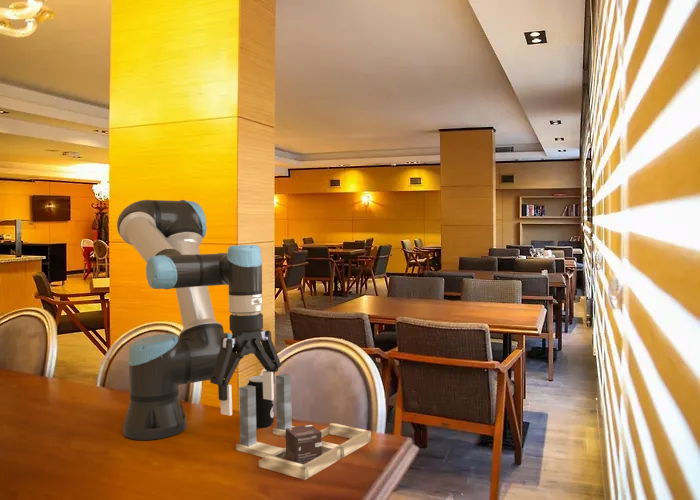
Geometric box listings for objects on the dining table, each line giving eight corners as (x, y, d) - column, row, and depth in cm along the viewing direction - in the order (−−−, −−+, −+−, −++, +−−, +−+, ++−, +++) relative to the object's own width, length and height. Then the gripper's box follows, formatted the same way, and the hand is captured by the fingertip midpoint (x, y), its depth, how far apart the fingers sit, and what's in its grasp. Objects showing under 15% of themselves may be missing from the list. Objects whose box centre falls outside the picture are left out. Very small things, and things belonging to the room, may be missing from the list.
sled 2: (261, 438, 138) (260, 379, 137) (294, 424, 148) (293, 369, 148) (341, 458, 125) (340, 393, 125) (371, 441, 135) (370, 381, 135)
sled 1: (222, 456, 127) (220, 392, 127) (260, 438, 138) (259, 379, 137) (305, 479, 114) (303, 409, 114) (340, 459, 125) (339, 394, 124)
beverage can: (268, 429, 144) (268, 382, 144) (244, 428, 145) (243, 381, 145) (277, 421, 151) (276, 375, 150) (253, 419, 152) (252, 374, 152)
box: (295, 472, 118) (295, 436, 118) (285, 462, 124) (284, 428, 124) (322, 466, 121) (322, 431, 121) (311, 456, 127) (310, 423, 126)
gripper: (216, 321, 118) (219, 424, 118) (294, 307, 139) (296, 395, 139) (191, 319, 122) (194, 418, 122) (270, 306, 143) (272, 391, 143)
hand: (248, 406), depth 131 cm, fingers open, 13 cm apart
